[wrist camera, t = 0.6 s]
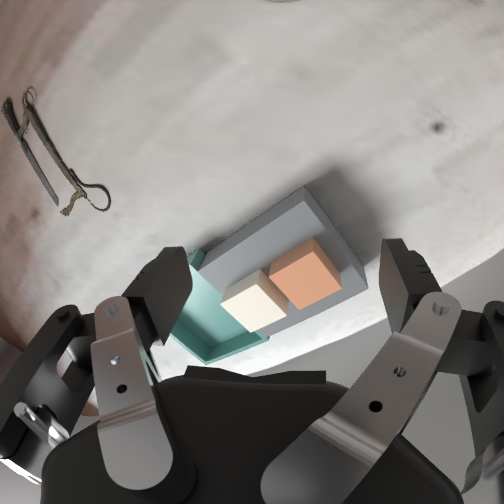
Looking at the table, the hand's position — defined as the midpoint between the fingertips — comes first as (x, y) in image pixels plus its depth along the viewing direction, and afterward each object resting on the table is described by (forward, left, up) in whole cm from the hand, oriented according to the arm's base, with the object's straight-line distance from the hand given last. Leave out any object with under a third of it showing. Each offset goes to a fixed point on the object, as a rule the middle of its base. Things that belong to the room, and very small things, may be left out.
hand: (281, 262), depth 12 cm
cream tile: (+15, +4, -15) cm, 22 cm away
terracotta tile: (+9, +7, -15) cm, 19 cm away
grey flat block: (+12, +5, -19) cm, 23 cm away
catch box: (+24, 0, -19) cm, 31 cm away
